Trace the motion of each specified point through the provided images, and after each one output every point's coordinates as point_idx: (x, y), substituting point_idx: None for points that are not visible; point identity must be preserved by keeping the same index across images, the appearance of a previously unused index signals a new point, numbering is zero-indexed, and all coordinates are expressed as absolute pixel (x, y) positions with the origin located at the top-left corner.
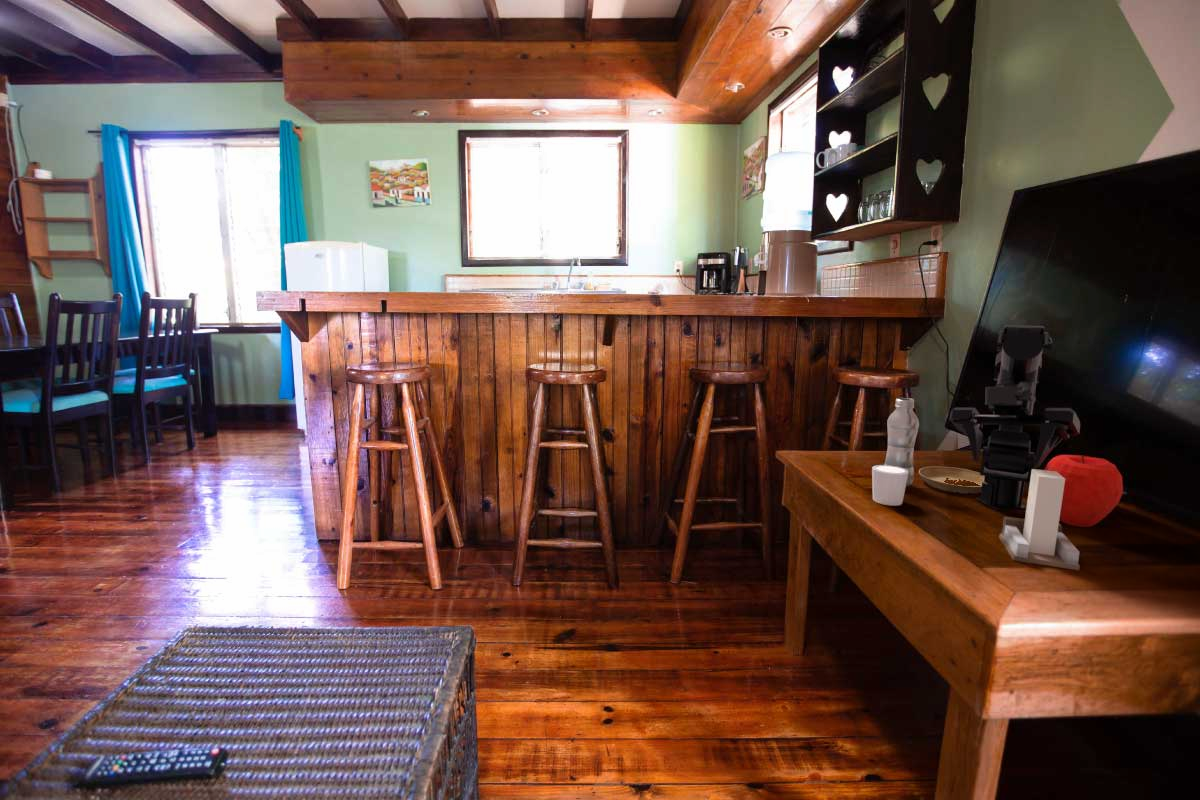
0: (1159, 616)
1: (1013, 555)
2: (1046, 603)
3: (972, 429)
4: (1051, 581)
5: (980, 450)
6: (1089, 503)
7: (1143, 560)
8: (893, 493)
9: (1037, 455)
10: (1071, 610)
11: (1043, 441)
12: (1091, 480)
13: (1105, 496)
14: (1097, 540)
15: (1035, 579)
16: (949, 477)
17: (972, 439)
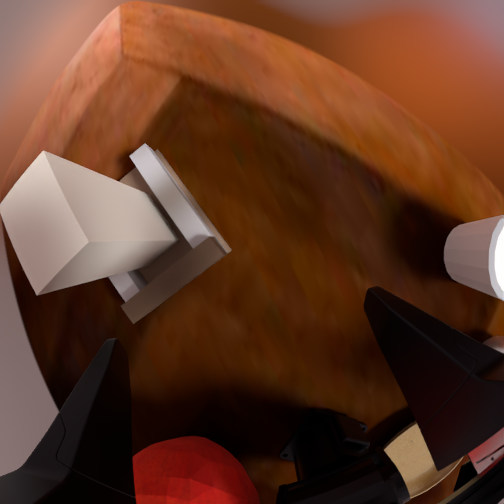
0: (13, 161)
1: (159, 152)
2: (90, 66)
3: (501, 374)
4: (98, 130)
5: (396, 375)
6: (142, 451)
7: (68, 357)
8: (464, 233)
9: (98, 370)
10: (69, 78)
11: (60, 436)
12: None
13: None
14: (135, 398)
15: (114, 114)
16: (430, 468)
17: (456, 345)
